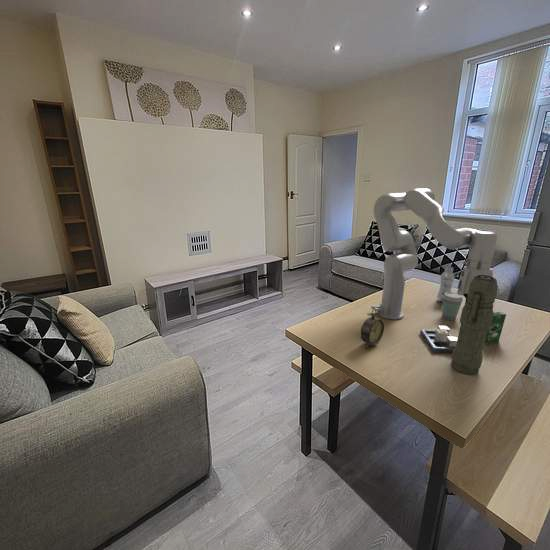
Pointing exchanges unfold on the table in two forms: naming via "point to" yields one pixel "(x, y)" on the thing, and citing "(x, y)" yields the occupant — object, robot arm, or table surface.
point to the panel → (439, 345)
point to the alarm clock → (372, 330)
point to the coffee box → (495, 328)
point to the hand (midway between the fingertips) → (469, 308)
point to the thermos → (474, 325)
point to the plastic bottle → (445, 282)
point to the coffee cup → (451, 305)
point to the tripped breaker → (441, 335)
